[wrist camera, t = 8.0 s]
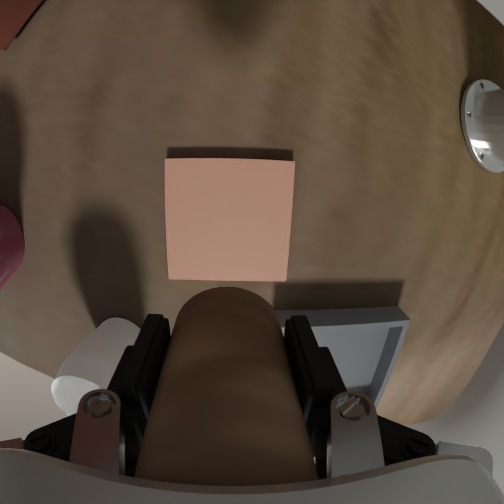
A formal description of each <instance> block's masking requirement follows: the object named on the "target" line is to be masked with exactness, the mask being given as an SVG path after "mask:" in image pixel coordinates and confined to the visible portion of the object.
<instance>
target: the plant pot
mask: <svg viewBox="0 0 504 504" xmlns="http://www.w3.org/2000/svg"><path fill="white" fill-rule="evenodd" d="M23 255H24V238H23V234H22V230H21V227H20V225H19V222H18V220H17V218H16V217H15V215H14V214H13V213H12V212H11V211H10V210H9V209H8V208H7V207H5V206H2V205H0V290H1V289H2V287H3V286H4V285H5V283H6V282H7V281H8V279H9V278H10V277H11V275H12V274H13V273H14V272H15V271H16V269H17V268H18V267H19V266H20V264H21V262H22V259H23Z"/></svg>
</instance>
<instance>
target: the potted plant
mask: <svg viewBox="0 0 504 504" xmlns="http://www.w3.org/2000/svg"><path fill="white" fill-rule="evenodd" d="M43 1H44V0H0V49H3V50H7V48H8V47H9V45H10V44H11V42H12V41H13V39H14V38H15V36H16V35H17V36H18V34H19V33H20V31H21V30H22V29H23V27H24V26H25V24H26V23H27V22H28V20H29V19H30V18H31V16H32V15H33V14H34V13H35V11H36V10H37V9H38V8H39V6H40V5H41V4H42V3H43Z"/></svg>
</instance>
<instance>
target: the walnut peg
mask: <svg viewBox="0 0 504 504" xmlns="http://www.w3.org/2000/svg"><path fill="white" fill-rule="evenodd" d="M134 477H135V478H140V479H147V480H153V481H161V482H169V483H179V484H190V485H207V486H260V485H276V484H288V483H298V482H306V481H314V480H319V478H318V474H317V470H316V466H315V461H314V457H313V453H312V449H311V445H310V441H309V437H308V432H307V428H306V424H305V420H304V416H303V412H302V408H301V404H300V400H299V396H298V392H297V388H296V384H295V380H294V376H293V372H292V368H291V364H290V360H289V356H288V352H287V348H286V344H285V340H284V336H283V332H282V328H281V324H280V321H279V318H278V315H277V313H276V312H275V310H274V309H273V307H272V306H271V305H270V304H269V303H268V302H267V301H266V300H265V299H263V298H262V297H260V296H259V295H257V294H255V293H253V292H251V291H248V290H245V289H241V288H236V287H218V288H212V289H209V290H205V291H203V292H201V293H198V294H197V295H195V296H193V297H192V298H191V299H190V300H188V301H187V302H186V303H185V304H184V305H183V307H182V308H181V310H180V311H179V314H178V316H177V319H176V322H175V325H174V328H173V332H172V335H171V338H170V341H169V345H168V348H167V352H166V355H165V358H164V362H163V365H162V369H161V372H160V376H159V379H158V383H157V387H156V390H155V394H154V398H153V401H152V405H151V409H150V413H149V417H148V421H147V425H146V429H145V433H144V437H143V441H142V445H141V449H140V453H139V458H138V462H137V466H136V471H135V475H134Z"/></svg>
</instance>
